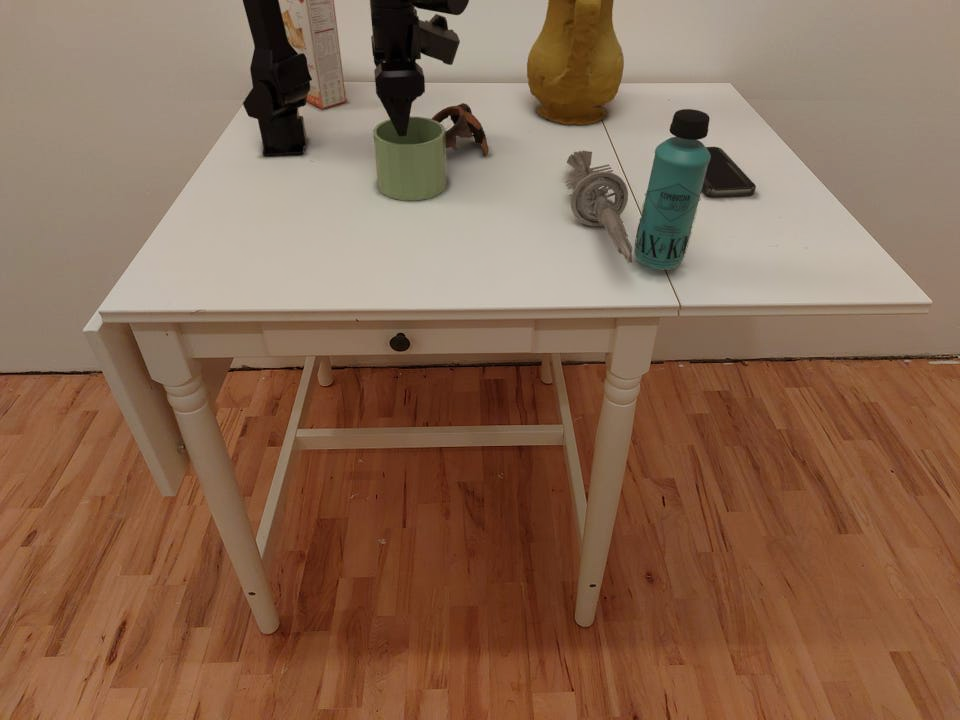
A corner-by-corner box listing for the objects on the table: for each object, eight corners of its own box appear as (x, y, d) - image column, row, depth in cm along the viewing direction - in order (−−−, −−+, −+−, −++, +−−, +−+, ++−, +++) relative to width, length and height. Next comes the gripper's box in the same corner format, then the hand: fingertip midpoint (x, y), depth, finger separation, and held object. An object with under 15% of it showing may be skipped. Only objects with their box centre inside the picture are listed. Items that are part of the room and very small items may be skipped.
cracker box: (281, 90, 131) (259, -31, 117) (308, 83, 134) (289, -36, 120) (320, 110, 123) (302, -16, 109) (347, 103, 126) (333, -22, 113)
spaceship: (589, 242, 75) (657, 216, 74) (544, 143, 104) (593, 123, 102) (607, 298, 80) (672, 274, 79) (560, 188, 108) (607, 170, 107)
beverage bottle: (625, 253, 88) (653, 102, 75) (673, 251, 89) (710, 101, 76) (638, 281, 84) (670, 125, 70) (689, 279, 84) (731, 124, 71)
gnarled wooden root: (491, 167, 108) (467, 128, 102) (441, 185, 112) (415, 148, 106) (495, 120, 115) (473, 81, 109) (448, 139, 119) (424, 102, 113)
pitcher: (633, 104, 127) (651, -46, 109) (590, 144, 115) (603, -17, 98) (553, 89, 134) (558, -55, 117) (506, 124, 123) (503, -29, 105)
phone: (709, 191, 99) (674, 148, 110) (707, 197, 100) (673, 154, 111) (759, 188, 100) (720, 146, 111) (757, 195, 101) (718, 152, 112)
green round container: (379, 203, 98) (374, 147, 92) (377, 170, 106) (372, 117, 100) (449, 198, 99) (448, 143, 93) (442, 167, 107) (441, 114, 101)
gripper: (464, 21, 79) (464, 147, 90) (446, -17, 93) (448, 96, 104) (370, 24, 78) (381, 151, 88) (366, -15, 92) (376, 99, 102)
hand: (400, 122), depth 96 cm, fingers open, 9 cm apart
